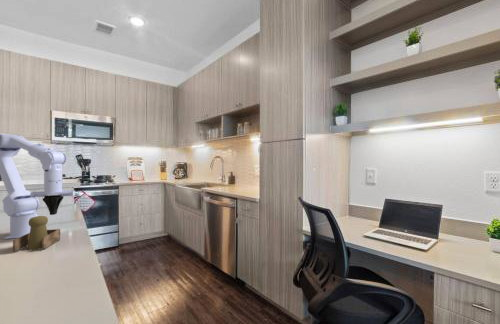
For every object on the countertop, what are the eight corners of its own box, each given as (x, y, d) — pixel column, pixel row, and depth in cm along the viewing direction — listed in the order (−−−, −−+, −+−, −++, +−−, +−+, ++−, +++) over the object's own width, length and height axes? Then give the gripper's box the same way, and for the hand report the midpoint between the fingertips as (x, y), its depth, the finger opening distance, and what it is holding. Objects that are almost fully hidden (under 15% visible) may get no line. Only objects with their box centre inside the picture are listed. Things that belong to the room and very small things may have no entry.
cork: (36, 250, 81) (35, 218, 81) (22, 249, 82) (22, 218, 82) (53, 244, 87) (53, 215, 87) (40, 243, 88) (40, 214, 88)
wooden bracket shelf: (32, 242, 89) (32, 230, 89) (60, 240, 92) (60, 229, 92) (12, 253, 79) (12, 240, 79) (44, 250, 81) (44, 237, 81)
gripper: (78, 179, 101) (78, 211, 101) (37, 180, 97) (37, 213, 97) (70, 181, 94) (70, 214, 94) (26, 181, 90) (26, 217, 90)
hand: (53, 214), depth 95 cm, fingers closed
